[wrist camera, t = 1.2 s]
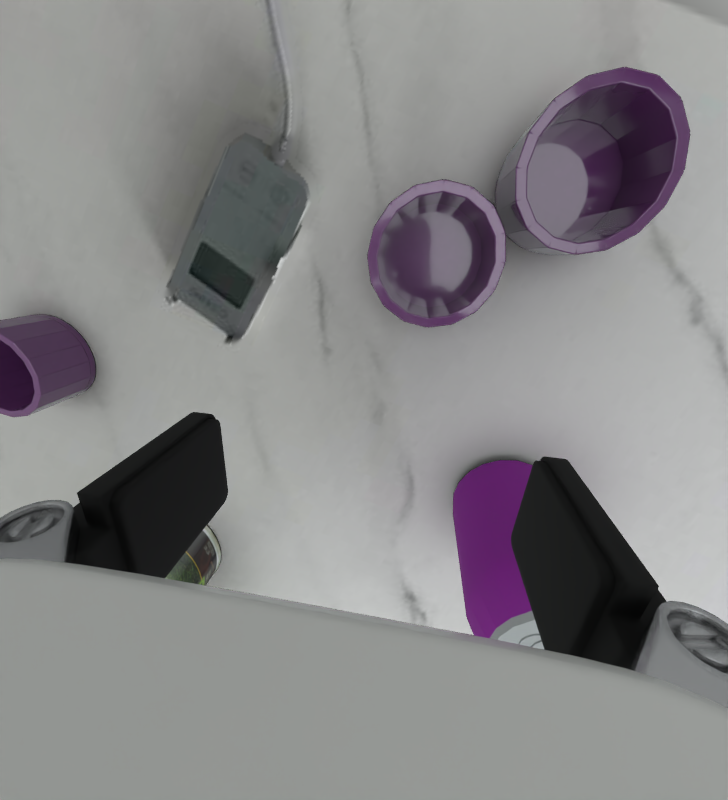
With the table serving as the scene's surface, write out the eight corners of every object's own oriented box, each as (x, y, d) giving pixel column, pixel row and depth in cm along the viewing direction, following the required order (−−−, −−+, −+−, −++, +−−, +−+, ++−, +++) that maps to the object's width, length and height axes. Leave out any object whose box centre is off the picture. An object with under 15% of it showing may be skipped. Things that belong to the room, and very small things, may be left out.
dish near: (525, 97, 17) (558, 49, 13) (654, 129, 17) (727, 90, 13) (477, 237, 20) (492, 233, 16) (588, 266, 20) (631, 269, 16)
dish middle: (394, 182, 20) (387, 164, 16) (506, 212, 19) (530, 200, 15) (366, 298, 22) (354, 308, 18) (465, 325, 22) (475, 341, 18)
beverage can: (577, 480, 25) (698, 652, 14) (517, 547, 28) (578, 731, 18) (483, 437, 25) (534, 579, 14) (433, 510, 28) (443, 672, 17)
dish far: (12, 304, 26) (-63, 313, 22) (92, 326, 26) (31, 340, 22) (26, 381, 29) (-38, 402, 25) (99, 402, 29) (46, 427, 25)
